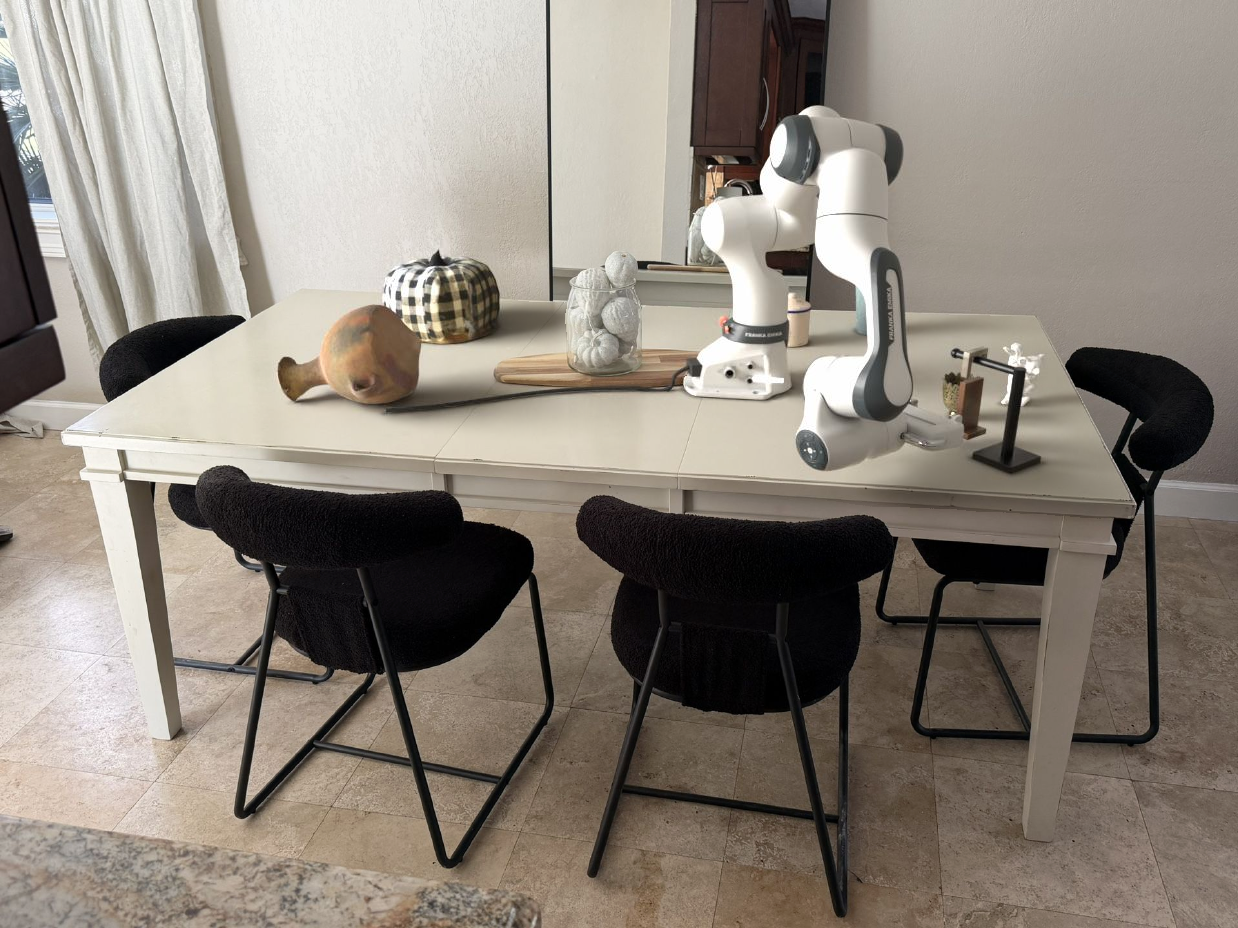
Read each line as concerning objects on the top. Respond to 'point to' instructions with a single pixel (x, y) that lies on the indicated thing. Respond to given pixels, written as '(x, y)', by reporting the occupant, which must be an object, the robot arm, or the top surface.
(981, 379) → the hanger
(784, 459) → the top surface
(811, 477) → the top surface
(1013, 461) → the stand
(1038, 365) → the white figurine
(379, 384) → the jug
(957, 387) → the cup
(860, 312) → the teal embossed pot
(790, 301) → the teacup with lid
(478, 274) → the decorative pumpkin
